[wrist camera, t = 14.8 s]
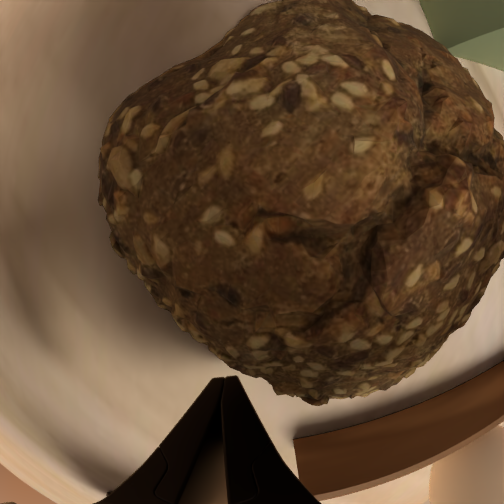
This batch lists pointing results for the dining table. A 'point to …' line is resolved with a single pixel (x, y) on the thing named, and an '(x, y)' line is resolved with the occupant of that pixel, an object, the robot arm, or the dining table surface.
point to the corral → (400, 439)
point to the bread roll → (311, 197)
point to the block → (469, 28)
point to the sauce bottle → (471, 473)
